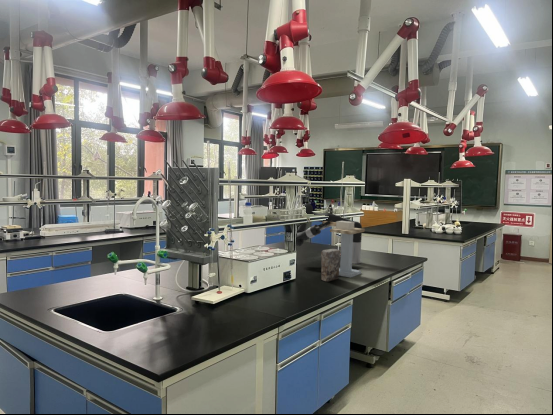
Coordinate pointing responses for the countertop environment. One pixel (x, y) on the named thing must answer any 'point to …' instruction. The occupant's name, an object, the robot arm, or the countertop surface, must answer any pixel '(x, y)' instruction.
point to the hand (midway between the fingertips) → (331, 221)
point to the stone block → (330, 264)
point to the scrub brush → (342, 224)
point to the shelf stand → (347, 251)
